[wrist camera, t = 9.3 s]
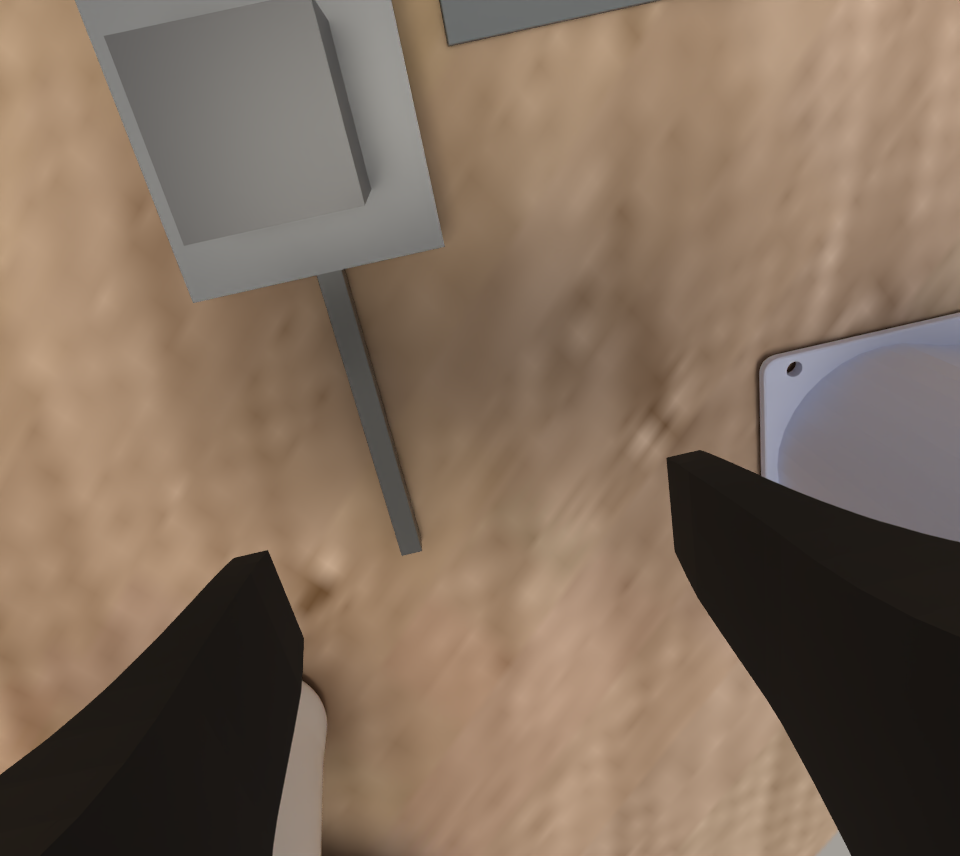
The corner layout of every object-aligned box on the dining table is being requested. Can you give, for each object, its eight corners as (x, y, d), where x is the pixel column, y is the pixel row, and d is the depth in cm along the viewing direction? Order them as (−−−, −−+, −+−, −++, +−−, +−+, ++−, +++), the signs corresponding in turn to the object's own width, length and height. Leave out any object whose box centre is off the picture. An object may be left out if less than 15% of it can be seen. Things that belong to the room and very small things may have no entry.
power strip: (186, -924, 11) (-9, -1899, 6) (502, 520, 23) (533, 637, 18) (-204, -852, 11) (-774, -1776, 6) (320, 562, 23) (297, 693, 18)
